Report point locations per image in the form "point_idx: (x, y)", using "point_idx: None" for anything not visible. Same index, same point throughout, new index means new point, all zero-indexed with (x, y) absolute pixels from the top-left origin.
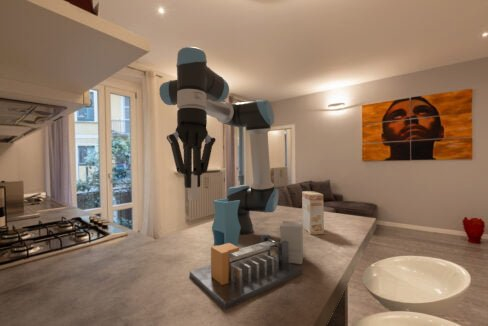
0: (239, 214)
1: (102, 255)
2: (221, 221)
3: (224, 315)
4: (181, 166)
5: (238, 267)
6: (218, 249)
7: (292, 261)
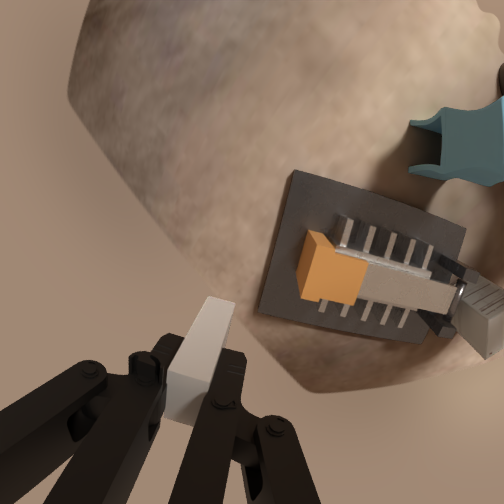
0: None
1: None
2: (462, 148)
3: (248, 314)
4: (77, 428)
5: None
6: (314, 274)
7: None
